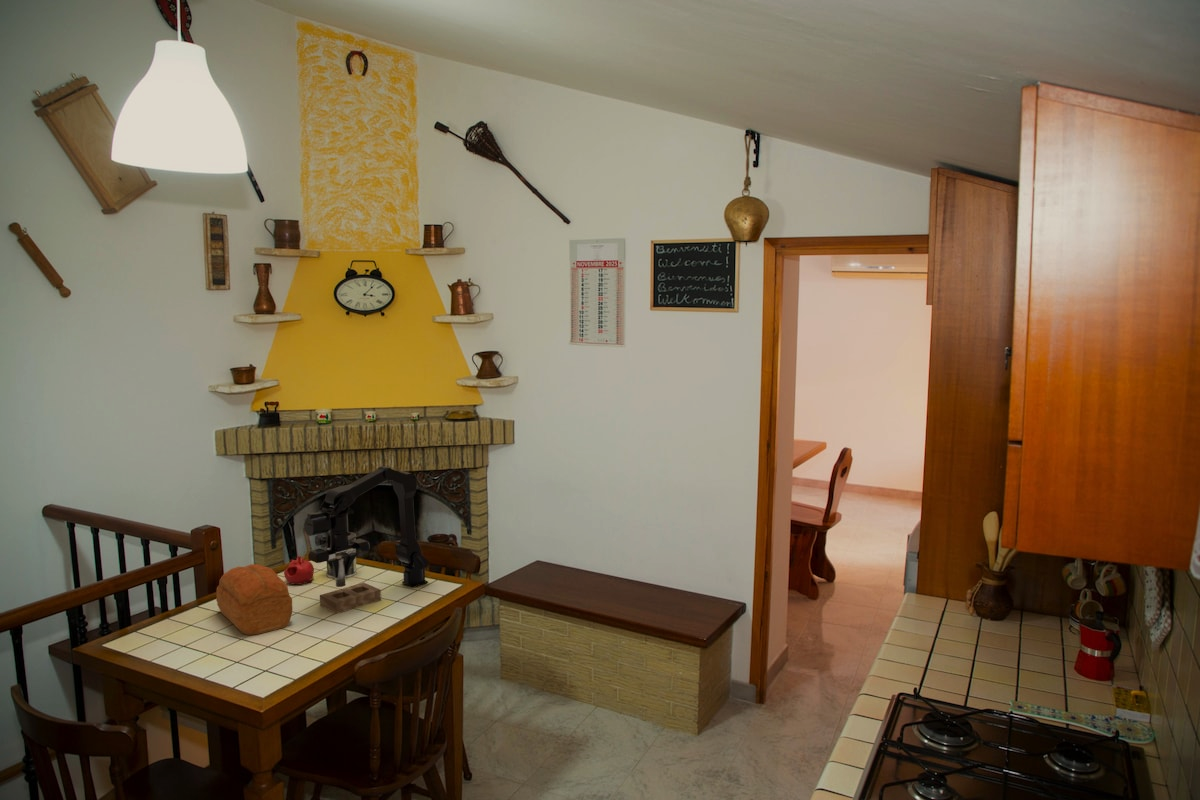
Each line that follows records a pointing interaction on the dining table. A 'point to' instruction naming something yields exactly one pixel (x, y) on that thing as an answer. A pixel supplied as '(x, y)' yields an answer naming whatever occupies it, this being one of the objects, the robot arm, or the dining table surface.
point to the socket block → (350, 597)
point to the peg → (340, 572)
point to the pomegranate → (299, 571)
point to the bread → (254, 599)
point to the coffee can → (353, 566)
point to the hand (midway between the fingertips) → (340, 576)
